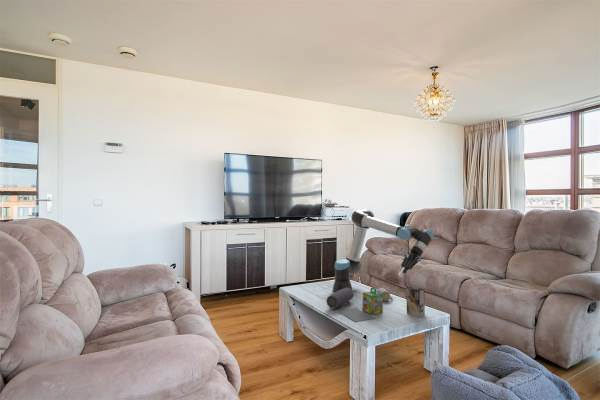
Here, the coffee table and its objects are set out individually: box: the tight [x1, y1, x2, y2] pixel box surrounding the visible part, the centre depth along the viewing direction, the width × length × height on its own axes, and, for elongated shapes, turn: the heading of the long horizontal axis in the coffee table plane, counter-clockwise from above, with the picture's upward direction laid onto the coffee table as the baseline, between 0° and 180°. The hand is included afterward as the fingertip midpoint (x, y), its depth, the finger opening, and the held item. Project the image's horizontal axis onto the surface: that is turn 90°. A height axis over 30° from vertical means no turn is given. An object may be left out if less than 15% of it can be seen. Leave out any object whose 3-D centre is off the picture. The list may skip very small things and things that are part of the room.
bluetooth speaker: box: [326, 288, 354, 309], centre depth 213 cm, size 23×9×10 cm, turn 145°
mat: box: [336, 307, 375, 323], centre depth 195 cm, size 20×14×1 cm
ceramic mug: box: [376, 287, 394, 302], centre depth 225 cm, size 11×8×8 cm
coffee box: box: [405, 286, 426, 318], centre depth 195 cm, size 9×6×16 cm
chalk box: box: [362, 286, 384, 316], centre depth 201 cm, size 9×9×15 cm
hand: (399, 276), depth 210 cm, fingers closed
